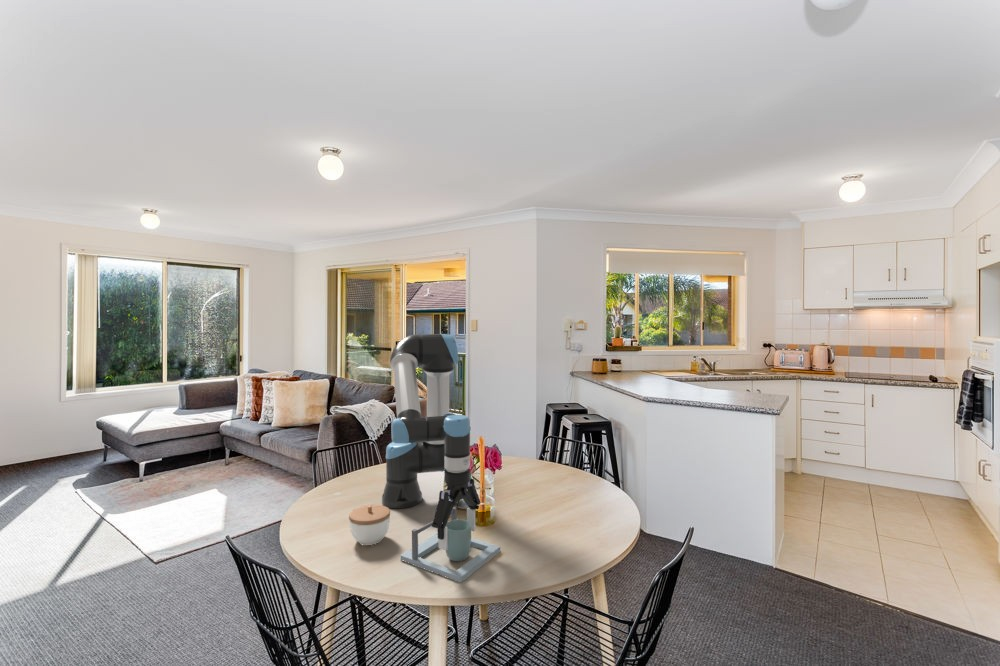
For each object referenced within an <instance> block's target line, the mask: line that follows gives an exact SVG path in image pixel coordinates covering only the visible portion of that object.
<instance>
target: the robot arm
mask: <svg viewBox="0 0 1000 666" xmlns="http://www.w3.org/2000/svg"><path fill="white" fill-rule="evenodd" d="M456 341H457V340H456V338H455V337H454V335H452V334H446V333H445V334H444V333H433V334H432V333H429V334H428V333H427V334H426V333H425V334H411V335H408V336H406V337H404V338H402V339H401V340H400V341H398V343H397V344H396V345H395V346H394V348H393V350H392V352H391V354H390V358H389V363H390V364H389V365H390V369H391V371H393V378H394V380H393V381H394V392H395V393H394V395H395V406H396V410H395V411H396V418H392V420H391V421H390V423H391V426H390V427H391V442H390V443H389V444H388V445H387V446H386V448H385V453H386V454H385V459H386V463H385V464H386V465H385V467H386V468H385V470H386V474H385V475H386V476H385V477H386V483H385V486H384V489H383V490H384V491H383V494H382V495H381V503H382V504H381V505H382V506H386V507H388V508H389V509H407V508H412V507H415V506H417V505H419V504H420V503H422V500H423V493H422V491H421V488H420V484H419V482H418V474H422V473H423V474H425V473H436V472H441V473H442V472H443V473H444V474H443V475H444V482H445V484H446V486H447V487H446V490H445V491H444V490H440V491H439V495H438V496H439V497H438V501H437V504H436V505H437V506H436V509H435V512H434V516H433V520H432V521H433V523H432V526H431V527H432V528H434V529H435V528H436V529H437V533H438V547H437V548H438V549H441V550H443V551H446V550H448V536H447V527H445V526H446V524H447V522H449V519H450V517H451V515H452V514H451V512H452V509H453V507H455V506H456V505H457V503H458V502H459V501H460V500H463V501H464V503H465V504H466V505H467V508H466V520H467V521H469V522H470V523H471V532H475V531H476V515H477V513H476V510H479V508H480V506H479V505H481V500H480V497H479V494H478V491H477V489H476V485H475V479H474V478H471V469H470V467H471V458H470V457H471V455H470V454H471V451H470V450H471V445H470V444H471V423H470V421H471V420H470V418H469V416H467V415H464V414H456V413H453V412H450V378H451V377H450V375H451V374H452V373H453V372H454V370H455V368H454V367H455V366H457V365H458V364H459V351H458V345H457V342H456ZM418 367H422V371H423V372H424V373H425V374H426V416H422V412H421V411H422V410H421V404H420V403H421V402H420V394H419V385H418V378H417V371H416V370H417V368H418ZM450 514H451V515H450Z"/></svg>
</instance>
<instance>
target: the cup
mask: <svg viewBox="0 0 1000 666" xmlns="http://www.w3.org/2000/svg"><path fill="white" fill-rule="evenodd" d="M445 527H447V536H448V550H445V553H446V556H447V558H448V559H449V560H451V561H453V562H463V561H465V560H466V559H467V558H469V555H470V552H471V547H472V546H471V538H472V531H471V523H470V522H469V521H467V519H458V518H457V519H456V520H452V519H450V520H448V521H447V524H446V526H445Z"/></svg>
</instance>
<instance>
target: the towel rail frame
mask: <svg viewBox="0 0 1000 666" xmlns="http://www.w3.org/2000/svg"><path fill="white" fill-rule="evenodd" d="M457 509H458V508H457V507H455V506H454V507H453V509H452V512H451V514H450V516H451V520H456V519H458V514H457V513H458V510H457ZM432 523H433V520H432V521H430V522H428V523H427V524H426V525H424V526H422V527H420V528H418V529H417V528H413V529H412V530H411V548H410V549H409V550H407V551H405V552H403V553H402V554H400V557H399V558H400V561H401V560H404V561H406V562H409V563H411V564H414V565H416V566H415V567H417V566H419V567H418V568H420V567H422V568H425V569H427V570H426V571H428V570H430V571H433V572H435V573H434V574H436V573H438V574H440V575H439V576H441V575H443V576H442V577H444V576H446V577H448V578H447V579H449V578H451V579H450V580H452V579H454V580H453V581H455V580H456V581H455V582H457V581H458V582H457V583H460V582H461V583H463V581H465V580H466V579H467V578H469V577H470V576H471V575H473V574H474V573H475V572H476V571H477V570H479V569H480V568H482V567H483V566H484V565H485V564H487V563H488V562H489V561H490V560H491V559H492V558H494V557H496V555H498V554H499V553H500V552H501V546H499V545H496V544H494V543H493V544H492V543H490V542H486V541H483V540H481V539H480V540H479V539H476V538H473V537H471V547H473V548H476V549H480V550H482V551H481V552H479V553H478V554H477V555H475V556H474V557H472V558H471V559H470V560H469V561H467V562H466V563H465V564H463V565H462V566H461V567H460V568H458V569H457V570H455V569H452V568H450V567H446V566H444V565H442V564H438V563H436V562H432V561H430V560H427V559H424V558H422V556H423V557H424V556H426V555H428V554H429V553H430V551H431V550H432V551H434V550H435V549H437V548H438V532H437V533H435V534H433V535H432V536H430V537H429V538H426V540H424V541H422V542H420V543H419V534H420V533H421V532H424V531H426V530H427V529H429V528H430V527H432ZM436 547H437V548H436ZM433 549H434V550H433ZM432 551H431V552H432ZM428 552H429V553H428ZM425 554H426V555H425ZM420 557H421V558H420ZM406 562H405V563H406ZM409 563H408V564H409ZM411 564H410V565H411ZM414 565H413V566H414ZM422 568H421V569H422ZM425 569H424V570H425ZM430 571H429V572H430ZM433 572H432V573H433ZM438 574H437V575H438ZM446 577H445V578H446Z"/></svg>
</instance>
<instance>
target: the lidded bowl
mask: <svg viewBox="0 0 1000 666" xmlns="http://www.w3.org/2000/svg"><path fill="white" fill-rule="evenodd" d="M390 509H391V508H389V507H386V506H384V505H383V504H368V505H362V506H360V507H357V508H355V509H353V510H351V512H349V515H348V519H349V528H350V533H351V536H352V537H353V539H355V541H356V542H358V544H359V543H360V544H363V545H371V546H373V545H372V544H375V545H377V544H376V543H378V542H380V541H381V542H382V540H383V539H384V538H385V536H386V535H387V533H388V531H389V529H390V522H391V521H390V520H391V510H390ZM381 542H380V543H381ZM360 544H359V545H360ZM378 544H379V543H378ZM363 545H362V546H363Z"/></svg>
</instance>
